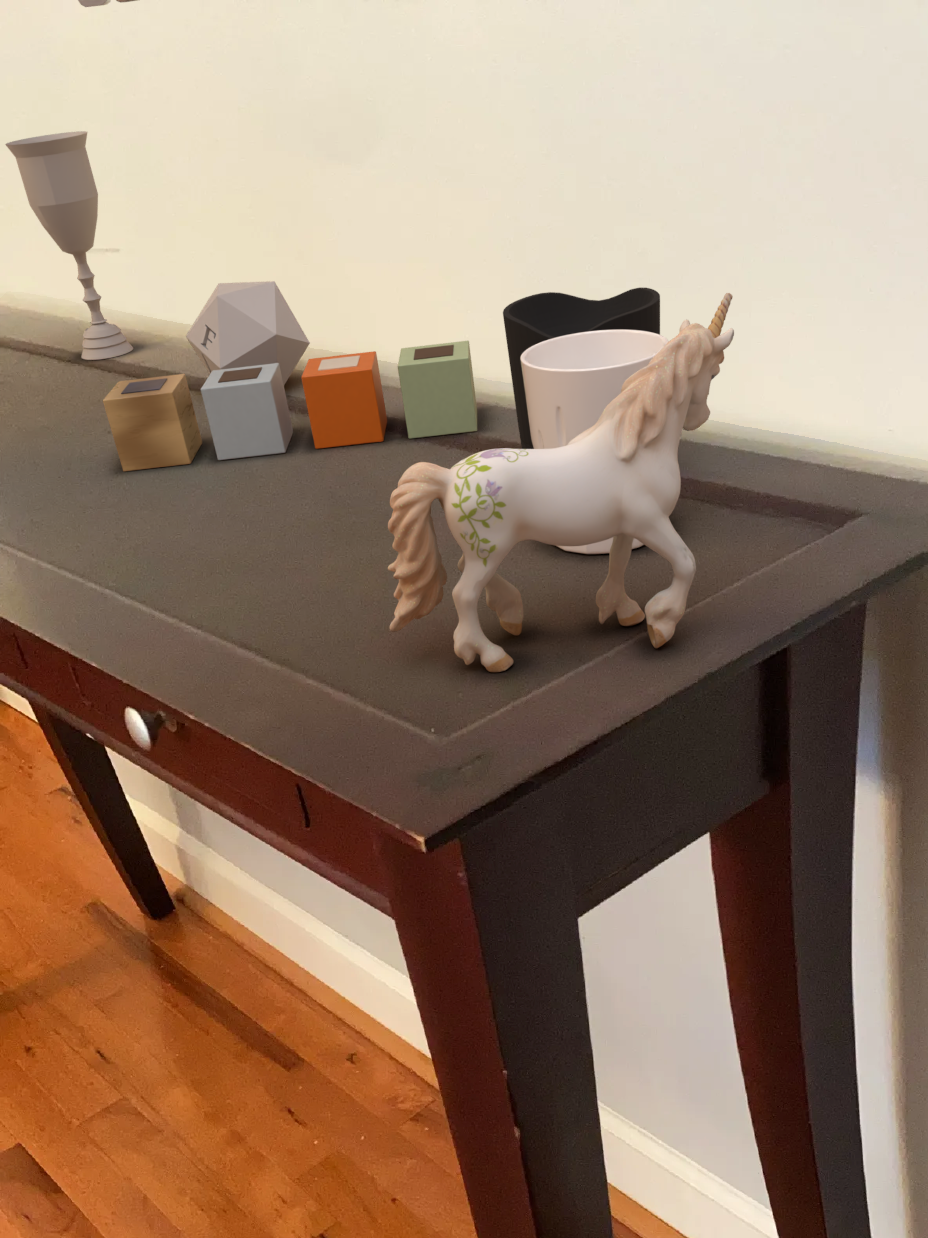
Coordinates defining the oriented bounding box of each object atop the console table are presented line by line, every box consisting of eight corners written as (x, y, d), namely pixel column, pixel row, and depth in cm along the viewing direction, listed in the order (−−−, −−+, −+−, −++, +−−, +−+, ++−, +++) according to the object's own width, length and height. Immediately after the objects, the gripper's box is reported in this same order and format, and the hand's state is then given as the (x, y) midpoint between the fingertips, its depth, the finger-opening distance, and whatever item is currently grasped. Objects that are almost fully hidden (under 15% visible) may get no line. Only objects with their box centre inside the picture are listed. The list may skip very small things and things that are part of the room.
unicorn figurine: (807, 610, 62) (818, 317, 54) (442, 720, 57) (393, 415, 49) (730, 564, 68) (730, 291, 60) (390, 661, 63) (338, 377, 55)
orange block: (315, 449, 92) (300, 375, 89) (321, 428, 96) (308, 357, 93) (383, 441, 92) (371, 367, 89) (387, 421, 96) (375, 349, 93)
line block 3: (408, 438, 92) (397, 364, 89) (411, 418, 96) (400, 347, 92) (477, 431, 91) (468, 356, 88) (477, 411, 95) (468, 339, 92)
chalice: (125, 339, 128) (69, 130, 117) (156, 347, 124) (100, 131, 113) (58, 357, 125) (-7, 144, 114) (87, 366, 120) (22, 145, 109)
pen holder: (575, 508, 77) (562, 331, 71) (492, 474, 83) (473, 310, 77) (695, 467, 81) (692, 295, 74) (607, 438, 87) (597, 277, 81)
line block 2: (217, 460, 92) (199, 387, 89) (228, 439, 96) (211, 369, 93) (285, 453, 92) (270, 379, 89) (293, 432, 96) (278, 361, 93)
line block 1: (123, 471, 92) (102, 399, 89) (137, 450, 96) (118, 380, 93) (190, 463, 92) (171, 391, 89) (202, 442, 96) (184, 372, 93)
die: (212, 391, 111) (148, 309, 102) (286, 318, 110) (228, 230, 101) (266, 442, 107) (205, 363, 98) (342, 367, 107) (288, 281, 98)
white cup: (511, 549, 73) (491, 365, 67) (583, 501, 78) (570, 326, 72) (631, 567, 69) (621, 374, 63) (698, 516, 74) (695, 332, 68)
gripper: (40, -258, 82) (103, 4, 91) (-67, -310, 66) (22, 15, 75) (135, -271, 82) (190, -7, 91) (51, -326, 66) (128, 2, 74)
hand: (114, 3), depth 82 cm, fingers open, 8 cm apart
